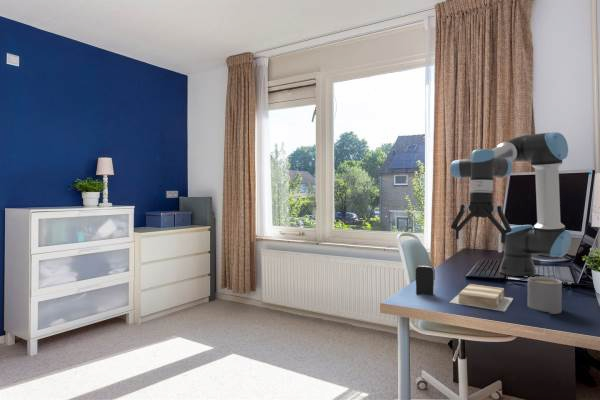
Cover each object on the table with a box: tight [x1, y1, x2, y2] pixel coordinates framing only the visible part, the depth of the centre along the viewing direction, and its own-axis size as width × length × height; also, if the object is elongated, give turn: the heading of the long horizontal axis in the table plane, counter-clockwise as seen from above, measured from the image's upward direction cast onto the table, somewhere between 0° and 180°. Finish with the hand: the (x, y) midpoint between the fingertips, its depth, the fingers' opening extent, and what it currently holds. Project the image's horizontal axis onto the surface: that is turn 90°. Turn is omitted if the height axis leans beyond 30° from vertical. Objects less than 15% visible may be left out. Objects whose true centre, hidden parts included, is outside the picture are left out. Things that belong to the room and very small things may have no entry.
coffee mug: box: [526, 276, 563, 315], centre depth 135 cm, size 13×10×10 cm
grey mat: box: [449, 293, 514, 313], centre depth 143 cm, size 18×18×1 cm
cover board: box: [458, 283, 505, 310], centre depth 143 cm, size 16×12×4 cm
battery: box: [415, 264, 436, 296], centre depth 153 cm, size 7×4×11 cm, turn 58°
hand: (479, 250), depth 143 cm, fingers open, 13 cm apart
